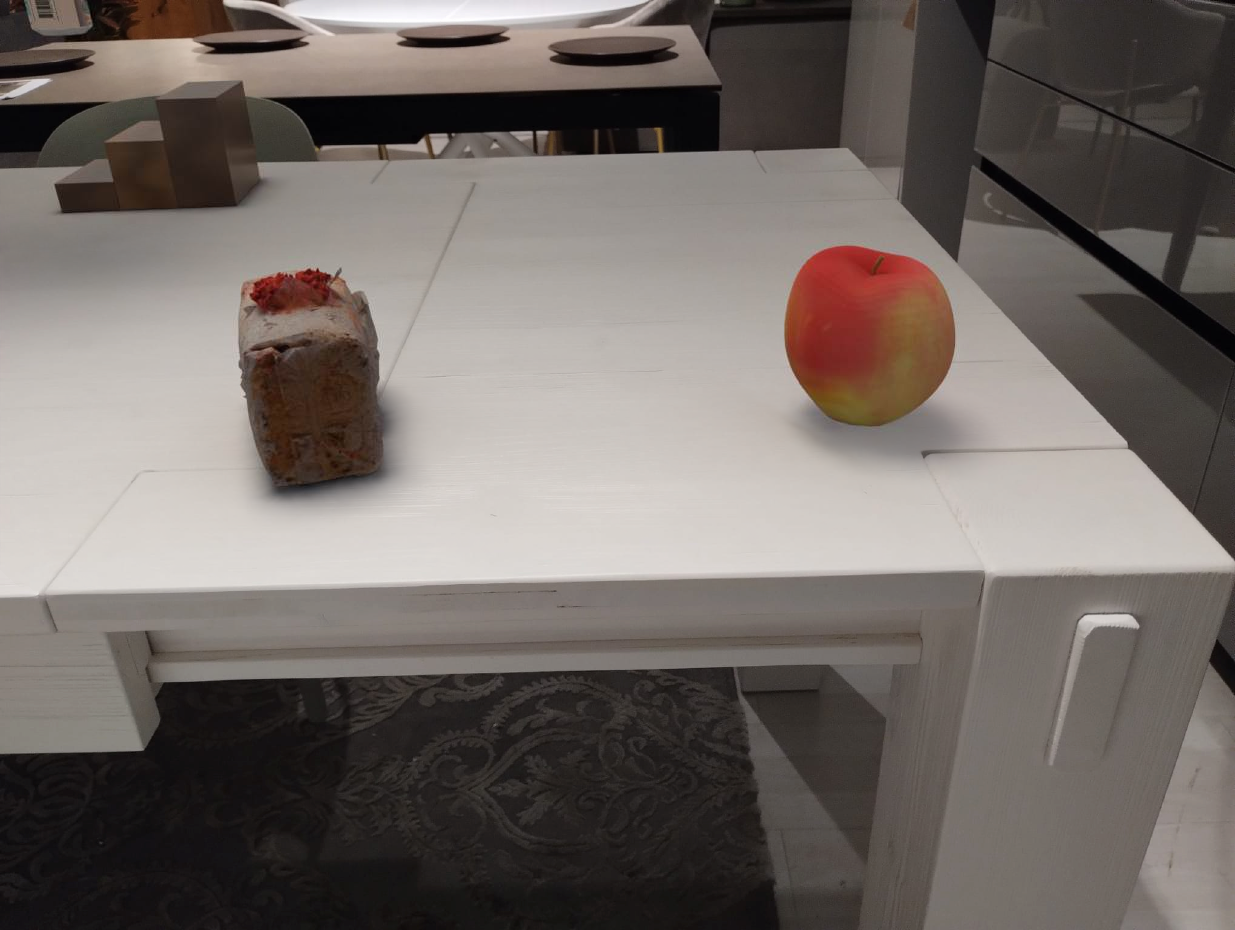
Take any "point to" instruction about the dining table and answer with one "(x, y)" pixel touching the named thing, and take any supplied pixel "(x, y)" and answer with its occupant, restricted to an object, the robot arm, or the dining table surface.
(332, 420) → the food item
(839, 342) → the apple
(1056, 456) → the dining table surface
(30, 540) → the dining table surface
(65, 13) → the beer can
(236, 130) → the step shelf
